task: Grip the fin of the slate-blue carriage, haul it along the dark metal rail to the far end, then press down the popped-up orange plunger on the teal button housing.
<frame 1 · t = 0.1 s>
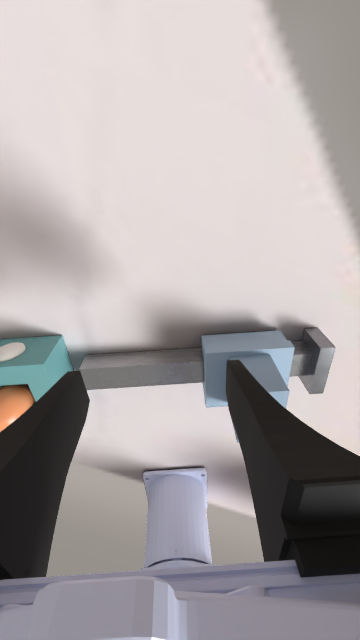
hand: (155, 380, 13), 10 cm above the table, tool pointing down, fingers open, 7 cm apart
plunger: (10, 405, 21), point 4 cm above the table, slide at 0.0 cm
carriage: (248, 383, 22), point 4 cm above the table, slide at -4.2 cm
teal button housing: (35, 368, 25), on the table
rail: (194, 358, 25), on the table
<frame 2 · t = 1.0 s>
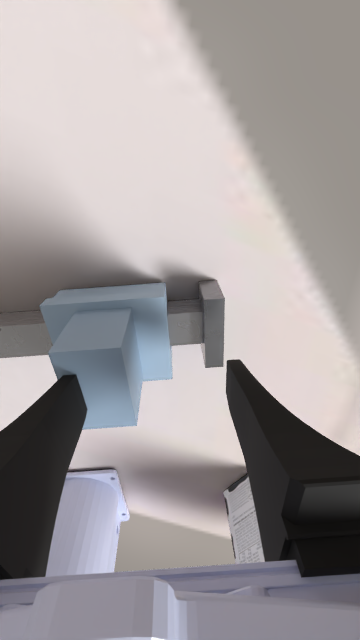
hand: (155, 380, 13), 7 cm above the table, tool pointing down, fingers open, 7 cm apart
candy box: (281, 495, 32), on the table
carriage: (110, 350, 16), point 4 cm above the table, slide at -4.3 cm, touching gripper
rail: (61, 324, 19), on the table
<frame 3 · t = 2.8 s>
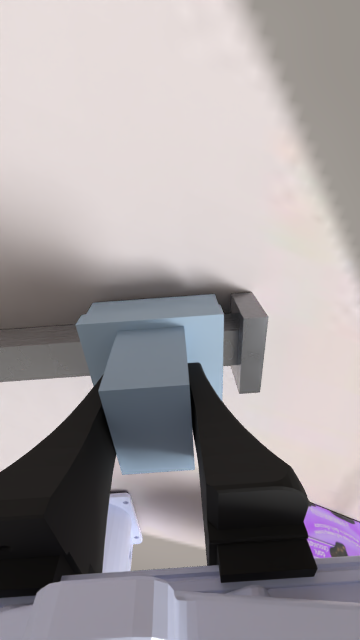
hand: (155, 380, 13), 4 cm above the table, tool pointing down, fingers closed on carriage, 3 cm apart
candy box: (305, 517, 30), on the table
carriage: (156, 375, 14), point 4 cm above the table, slide at -5.5 cm, touching gripper
rail: (72, 341, 17), on the table
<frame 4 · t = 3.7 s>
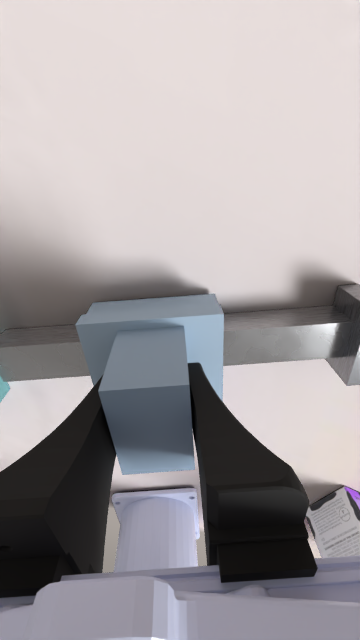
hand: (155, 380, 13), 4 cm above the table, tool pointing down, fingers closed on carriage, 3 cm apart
carriage: (156, 375, 14), point 4 cm above the table, slide at 0.8 cm, touching gripper
rail: (170, 334, 17), on the table
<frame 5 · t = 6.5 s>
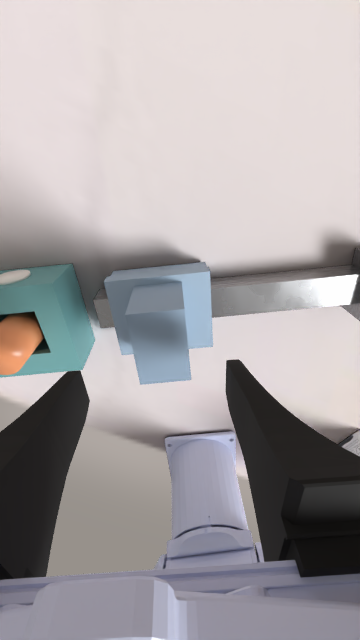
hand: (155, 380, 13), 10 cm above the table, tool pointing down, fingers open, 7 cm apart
plunger: (15, 339, 18), point 4 cm above the table, slide at 0.0 cm
carriage: (162, 320, 19), point 4 cm above the table, slide at 5.0 cm
teal button housing: (42, 308, 22), on the table
rail: (224, 291, 22), on the table
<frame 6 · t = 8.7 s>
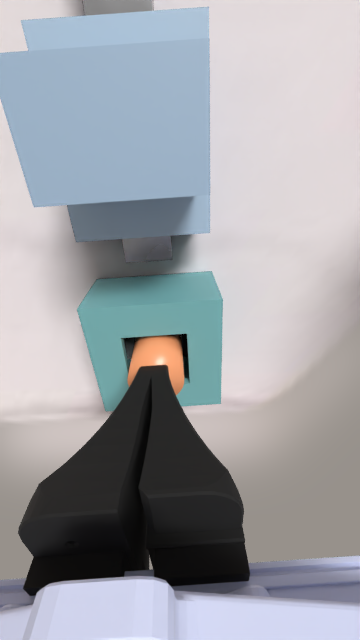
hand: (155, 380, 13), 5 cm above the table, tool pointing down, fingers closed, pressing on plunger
plunger: (157, 356, 15), point 4 cm above the table, slide at 1.0 cm, touching gripper
carriage: (129, 143, 10), point 4 cm above the table, slide at 5.0 cm
teal button housing: (159, 324, 18), on the table
rail: (122, 0, 11), on the table
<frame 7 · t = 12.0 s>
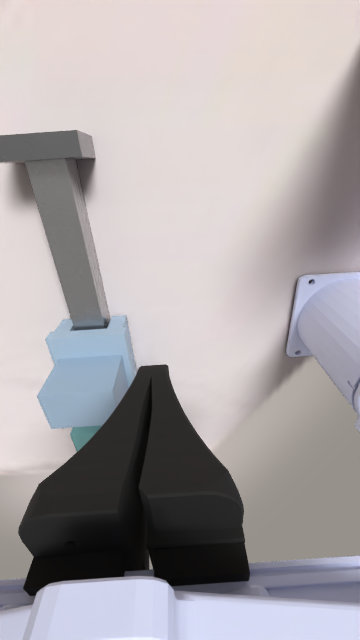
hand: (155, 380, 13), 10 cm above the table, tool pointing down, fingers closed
carriage: (93, 376, 22), point 4 cm above the table, slide at 5.0 cm
teal button housing: (121, 422, 30), on the table
rail: (91, 299, 22), on the table
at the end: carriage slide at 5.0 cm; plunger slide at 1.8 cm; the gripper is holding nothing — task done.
